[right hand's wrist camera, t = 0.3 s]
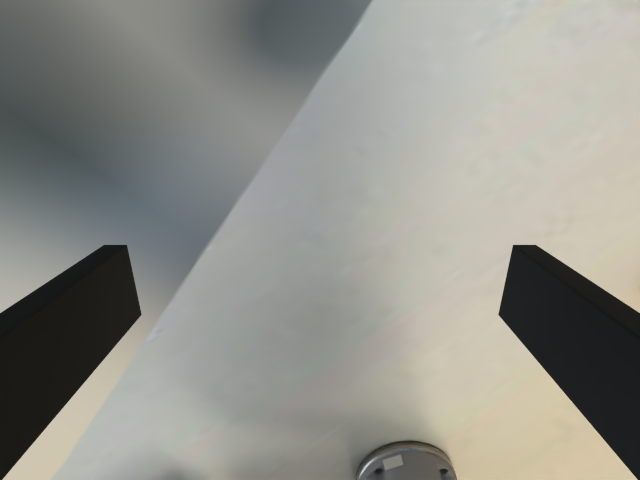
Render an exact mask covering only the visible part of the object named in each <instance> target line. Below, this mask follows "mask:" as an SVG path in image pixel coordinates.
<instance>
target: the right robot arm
mask: <svg viewBox="0 0 640 480" xmlns="http://www.w3.org/2000/svg"><path fill="white" fill-rule="evenodd" d="M140 316H141V310H140V306H139V301H138V296H137V291H136V287H135V282H134V277H133V272H132V268H131V263H130V258H129V253H128V249H127V245H104V246H102V247H101V248H99V249H97V250H96V251H95V252H93V253H91V254H90V255H88V256H87V257H85V258H84V259H82V260H81V261H79V262H78V263H76V264H75V265H73V266H72V267H70V268H69V269H67V270H65V271H64V272H62V273H61V274H59V275H58V276H56V277H55V278H53V279H52V280H50V281H49V282H47V283H46V284H44V285H43V286H41V287H40V288H38V289H37V290H35V291H34V292H32V293H30V294H29V295H27V296H26V297H24V298H23V299H21V300H20V301H18V302H17V303H15V304H14V305H12V306H11V307H9V308H8V309H6V310H5V311H3V312H2V313H0V480H2V479H3V478H4V477H5V476H6V474H7V473H8V472H9V471H10V470H11V468H12V467H13V466H14V465H15V464H16V463H17V461H18V460H19V459H20V458H21V457H22V455H23V454H24V453H25V452H26V451H27V449H28V448H29V447H30V446H31V445H32V444H33V442H34V441H35V440H36V439H37V438H38V436H39V435H40V434H41V433H42V432H43V431H44V429H45V428H46V427H47V426H48V425H49V423H50V422H51V421H52V420H53V419H54V418H55V416H56V415H57V414H58V413H59V412H60V410H61V409H62V408H63V407H64V406H65V405H66V403H67V402H68V401H69V400H70V399H71V397H72V396H73V395H74V394H75V393H76V391H77V390H78V389H79V388H80V387H81V386H82V384H83V383H84V382H85V381H86V380H87V379H88V377H89V376H90V375H91V374H92V373H93V371H94V370H95V369H96V368H97V367H98V365H99V364H100V363H101V362H102V361H103V360H104V358H105V357H106V356H107V355H108V354H109V352H110V351H111V350H112V349H113V348H114V346H115V345H116V344H117V343H118V342H119V341H120V339H121V338H122V337H123V336H124V335H125V333H126V332H127V331H128V330H129V329H130V328H131V326H132V325H133V324H134V323H135V322H136V320H137V319H138V318H139V317H140ZM499 316H500V317H501V318H502V319H503V321H504V322H505V323H506V324H507V325H508V326H509V328H510V329H511V330H512V331H513V332H514V334H515V335H516V336H517V337H518V338H519V339H520V341H521V342H522V343H523V344H524V345H525V347H526V348H527V349H528V350H529V351H530V352H531V354H532V355H533V356H534V357H535V358H536V360H537V361H538V362H539V363H540V364H541V365H542V367H543V368H544V369H545V370H546V371H547V373H548V374H549V375H550V376H551V377H552V379H553V380H554V381H555V382H556V383H557V384H558V386H559V387H560V388H561V389H562V390H563V392H564V393H565V394H566V395H567V396H568V397H569V399H570V400H571V401H572V402H573V403H574V405H575V406H576V407H577V408H578V409H579V410H580V412H581V413H582V414H583V415H584V416H585V418H586V419H587V420H588V421H589V422H590V423H591V425H592V426H593V427H594V428H595V429H596V431H597V432H598V433H599V434H600V435H601V437H602V438H603V439H604V440H605V441H606V442H607V444H608V445H609V446H610V447H611V448H612V450H613V451H614V452H615V453H616V454H617V455H618V457H619V458H620V459H621V460H622V461H623V463H624V464H625V465H626V466H627V467H628V468H629V470H630V471H631V472H632V473H633V474H634V476H635V477H636V478H637V479H638V480H640V313H638V312H637V311H635V310H634V309H632V308H631V307H629V306H628V305H626V304H625V303H623V302H622V301H620V300H619V299H617V298H616V297H614V296H613V295H611V294H610V293H608V292H606V291H605V290H603V289H602V288H600V287H599V286H597V285H596V284H594V283H593V282H591V281H590V280H588V279H587V278H585V277H584V276H582V275H581V274H579V273H578V272H576V271H575V270H573V269H571V268H570V267H568V266H567V265H565V264H564V263H562V262H561V261H559V260H558V259H556V258H555V257H553V256H552V255H550V254H549V253H547V252H546V251H544V250H543V249H541V248H540V247H538V246H536V245H513V248H512V253H511V258H510V263H509V267H508V272H507V277H506V282H505V286H504V291H503V296H502V301H501V305H500V310H499ZM356 480H457V478H456V474H455V471H454V469H453V466H452V463H451V461H450V460H449V458H448V457H447V456H446V455H445V454H444V453H443V452H442V451H440V450H439V449H437V448H435V447H433V446H430V445H427V444H423V443H417V442H401V443H395V444H391V445H387V446H384V447H382V448H380V449H378V450H376V451H374V452H373V453H371V454H370V455H369V456H367V457H366V458H365V459H364V461H363V462H362V463H361V465H360V466H359V468H358V471H357V475H356Z"/></svg>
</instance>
